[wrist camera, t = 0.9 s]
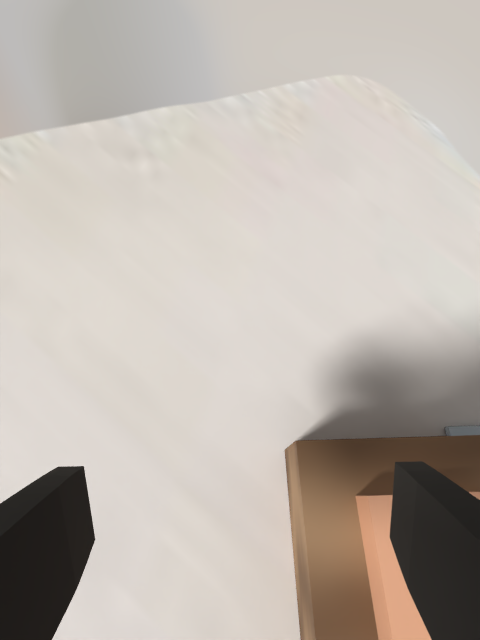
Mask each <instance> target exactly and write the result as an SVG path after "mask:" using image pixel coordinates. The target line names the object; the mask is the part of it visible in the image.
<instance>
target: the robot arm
mask: <svg viewBox="0 0 480 640" xmlns="http://www.w3.org/2000/svg"><path fill="white" fill-rule="evenodd" d="M390 540H391V543H392V546H393V549H394V552H395V555H396V558H397V560H398V563H399V566H400V569H401V572H402V574H403V577H404V580H405V583H406V585H407V588H408V590H409V592H410V595H411V597H412V599H413V601H414V603H415V605H416V608H417V610H418V612H419V614H420V616H421V618H422V620H423V622H424V625H425V627H426V629H427V631H428V633H429V635H430V637H431V639H432V640H480V500H479V499H477V498H476V497H475V496H473V495H472V494H470V493H469V492H467V491H466V490H465V489H463V488H462V487H460V486H459V485H457V484H456V483H454V482H453V481H451V480H450V479H449V478H447V477H446V476H444V475H443V474H441V473H440V472H438V471H437V470H435V469H434V468H432V467H431V466H429V465H427V464H426V463H424V462H422V461H417V462H395V469H394V483H393V497H392V510H391V524H390ZM94 541H95V536H94V529H93V523H92V516H91V510H90V504H89V497H88V491H87V484H86V478H85V471H84V466H77V467H57V468H55V469H54V470H52V471H50V472H48V473H47V474H45V475H43V476H42V477H40V478H39V479H37V480H36V481H34V482H32V483H31V484H29V485H28V486H26V487H25V488H23V489H22V490H20V491H19V492H17V493H16V494H14V495H13V496H11V497H10V498H8V499H7V500H5V501H4V502H2V503H1V504H0V640H52V638H53V636H54V634H55V632H56V630H57V628H58V626H59V624H60V622H61V620H62V618H63V616H64V614H65V612H66V610H67V608H68V606H69V604H70V602H71V600H72V598H73V595H74V593H75V591H76V589H77V587H78V584H79V582H80V579H81V576H82V574H83V571H84V569H85V566H86V563H87V561H88V558H89V555H90V552H91V549H92V547H93V544H94Z"/></svg>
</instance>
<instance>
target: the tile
mask: <svg viewBox="0 0 480 640" xmlns="http://www.w3.org/2000/svg"><path fill="white" fill-rule="evenodd" d="M469 493H470V494H472V495H473V496H475V497H476V498H477V499H479V500H480V491H471V492H469ZM392 497H393V494H390V495H363V496H356V502H357V509H358V515H359V521H360V527H361V534H362V540H363V546H364V552H365V558H366V565H367V571H368V577H369V583H370V590H371V596H372V602H373V608H374V614H375V621H376V627H377V633H378V639H379V640H432V639H431V637H430V635H429V633H428V631H427V629H426V627H425V625H424V622H423V620H422V618H421V616H420V614H419V612H418V610H417V608H416V605H415V603H414V601H413V599H412V597H411V595H410V592H409V590H408V588H407V585H406V583H405V580H404V577H403V574H402V572H401V569H400V566H399V563H398V560H397V558H396V555H395V552H394V549H393V546H392V543H391V540H390V524H391V510H392Z"/></svg>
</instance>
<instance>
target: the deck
mask: <svg viewBox="0 0 480 640" xmlns="http://www.w3.org/2000/svg"><path fill="white" fill-rule="evenodd" d="M285 459H286V471H287V483H288V494H289V506H290V518H291V530H292V542H293V554H294V565H295V577H296V589H297V601H298V613H299V624H300V636H301V640H379V639H378V633H377V627H376V621H375V614H374V608H373V602H372V596H371V590H370V583H369V577H368V571H367V565H366V558H365V552H364V546H363V540H362V534H361V527H360V521H359V515H358V509H357V502H356V496H363V495H390V494H393V483H394V469H395V462H417V461H422V462H424V463H426V464H427V465H429V466H431V467H432V468H434V469H435V470H437V471H438V472H440V473H441V474H443V475H444V476H446V477H447V478H449V479H450V480H451V481H453V482H454V483H456V484H457V485H459V486H460V487H462V488H463V489H465V490H466V491H467V492H471V491H480V435H463V436H431V437H399V438H367V439H335V440H302V441H295V442H294V443H293V444H291V445H290V446H289V447H288V448H287V449H285Z"/></svg>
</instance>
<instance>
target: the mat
mask: <svg viewBox="0 0 480 640" xmlns="http://www.w3.org/2000/svg"><path fill="white" fill-rule="evenodd" d="M445 431H446V434H447V436H463V435H480V426H448V427H445Z"/></svg>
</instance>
